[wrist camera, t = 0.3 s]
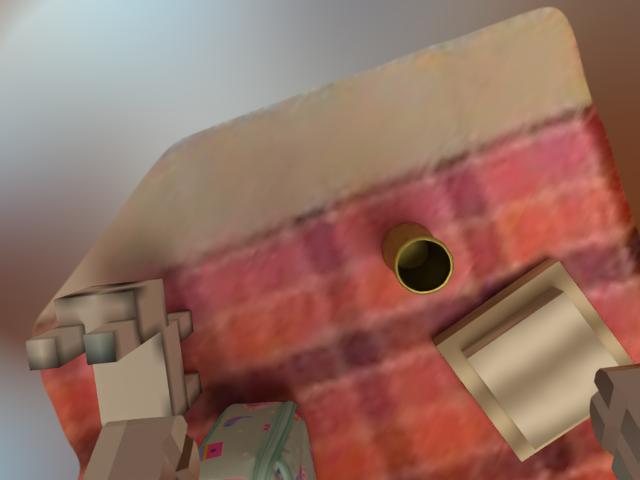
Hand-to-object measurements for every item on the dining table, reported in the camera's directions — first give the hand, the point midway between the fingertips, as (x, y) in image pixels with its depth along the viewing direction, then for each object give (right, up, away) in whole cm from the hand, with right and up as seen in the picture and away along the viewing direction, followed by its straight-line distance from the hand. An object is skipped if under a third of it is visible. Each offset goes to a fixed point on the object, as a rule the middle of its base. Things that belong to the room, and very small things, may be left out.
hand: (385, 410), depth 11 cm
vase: (+9, +2, +52) cm, 53 cm away
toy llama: (-20, -9, +55) cm, 59 cm away
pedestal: (+23, -10, +52) cm, 57 cm away
